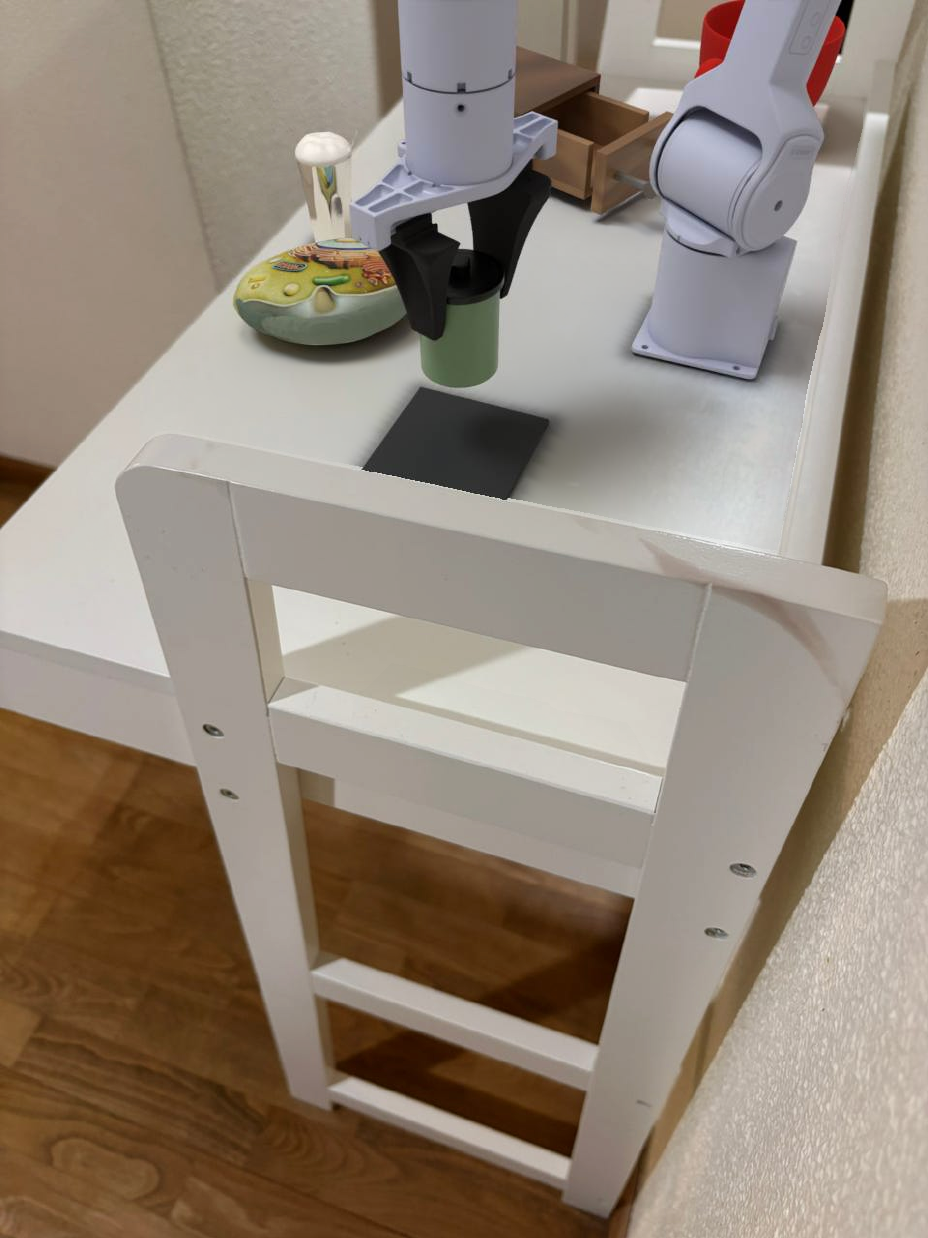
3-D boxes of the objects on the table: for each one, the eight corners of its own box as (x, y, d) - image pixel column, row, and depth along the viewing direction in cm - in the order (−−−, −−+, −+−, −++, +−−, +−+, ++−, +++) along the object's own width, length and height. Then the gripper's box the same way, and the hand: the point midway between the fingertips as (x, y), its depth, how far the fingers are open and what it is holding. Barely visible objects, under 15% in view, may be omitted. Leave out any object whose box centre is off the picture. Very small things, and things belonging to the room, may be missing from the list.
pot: (514, 350, 61) (518, 245, 55) (483, 398, 58) (484, 293, 52) (437, 332, 62) (434, 228, 57) (403, 378, 59) (395, 273, 53)
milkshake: (361, 261, 79) (349, 141, 71) (301, 255, 80) (283, 135, 72) (375, 234, 82) (365, 116, 74) (317, 228, 83) (301, 110, 75)
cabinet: (593, 151, 92) (601, 73, 86) (517, 194, 86) (521, 114, 81) (490, 112, 97) (492, 36, 92) (414, 150, 92) (410, 72, 87)
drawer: (708, 189, 85) (721, 129, 81) (642, 232, 80) (651, 171, 76) (563, 134, 92) (568, 76, 88) (495, 171, 87) (496, 111, 83)
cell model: (218, 273, 74) (378, 171, 72) (272, 353, 79) (423, 258, 78) (232, 321, 65) (413, 206, 64) (292, 406, 71) (461, 301, 69)
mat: (549, 423, 66) (549, 418, 65) (498, 515, 60) (498, 511, 59) (420, 390, 68) (420, 385, 68) (360, 476, 62) (359, 471, 62)
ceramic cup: (632, 143, 93) (647, 31, 85) (737, 95, 100) (760, -13, 92) (736, 189, 87) (762, 73, 79) (840, 134, 93) (874, 23, 86)
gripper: (494, 11, 51) (490, 242, 62) (296, 93, 45) (329, 336, 55) (595, 43, 48) (573, 280, 59) (399, 137, 42) (413, 385, 52)
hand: (460, 311), depth 57 cm, fingers closed on pot, 5 cm apart
